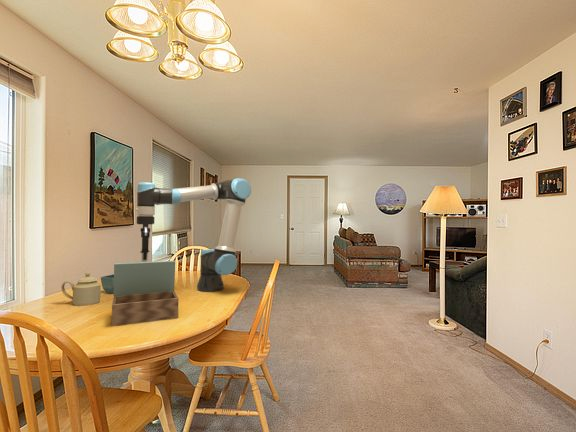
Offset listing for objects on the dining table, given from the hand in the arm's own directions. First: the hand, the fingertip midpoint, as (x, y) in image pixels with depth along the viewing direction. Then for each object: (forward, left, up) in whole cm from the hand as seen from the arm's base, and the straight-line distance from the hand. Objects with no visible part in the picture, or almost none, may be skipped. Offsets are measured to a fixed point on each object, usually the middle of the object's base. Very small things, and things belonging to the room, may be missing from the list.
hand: (144, 266), depth 143 cm
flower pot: (+14, -34, -19) cm, 42 cm away
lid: (0, +11, -4) cm, 11 cm away
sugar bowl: (+26, -16, -19) cm, 36 cm away
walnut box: (0, +17, -18) cm, 25 cm away
